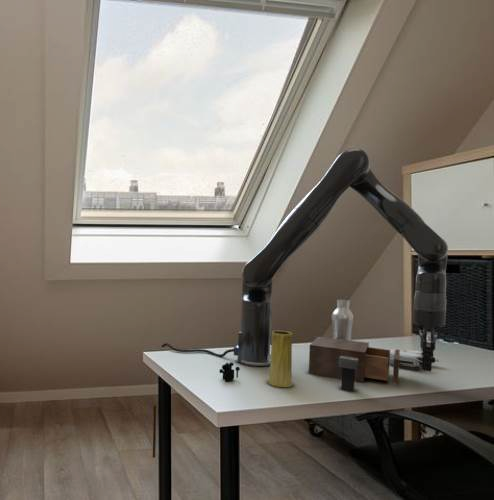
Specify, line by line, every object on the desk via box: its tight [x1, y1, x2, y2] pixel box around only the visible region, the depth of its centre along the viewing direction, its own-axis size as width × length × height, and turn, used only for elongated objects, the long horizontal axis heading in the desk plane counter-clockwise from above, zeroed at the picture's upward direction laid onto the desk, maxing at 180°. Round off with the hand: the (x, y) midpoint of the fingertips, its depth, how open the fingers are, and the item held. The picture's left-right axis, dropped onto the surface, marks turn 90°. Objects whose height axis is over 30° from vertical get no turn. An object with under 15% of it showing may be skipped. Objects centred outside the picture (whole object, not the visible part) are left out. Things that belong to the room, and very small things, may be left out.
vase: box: [268, 330, 293, 388], centre depth 130 cm, size 6×6×14 cm
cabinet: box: [308, 336, 370, 383], centre depth 143 cm, size 15×15×9 cm
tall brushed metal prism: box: [339, 356, 359, 393], centre depth 127 cm, size 4×2×8 cm, turn 59°
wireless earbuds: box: [219, 361, 241, 382], centre depth 133 cm, size 7×2×5 cm, turn 117°
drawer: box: [364, 346, 421, 385], centre depth 138 cm, size 18×13×7 cm
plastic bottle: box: [331, 299, 355, 341], centre depth 157 cm, size 6×7×20 cm
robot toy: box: [389, 349, 440, 366], centre depth 154 cm, size 12×4×15 cm
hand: (426, 370), depth 132 cm, fingers closed
